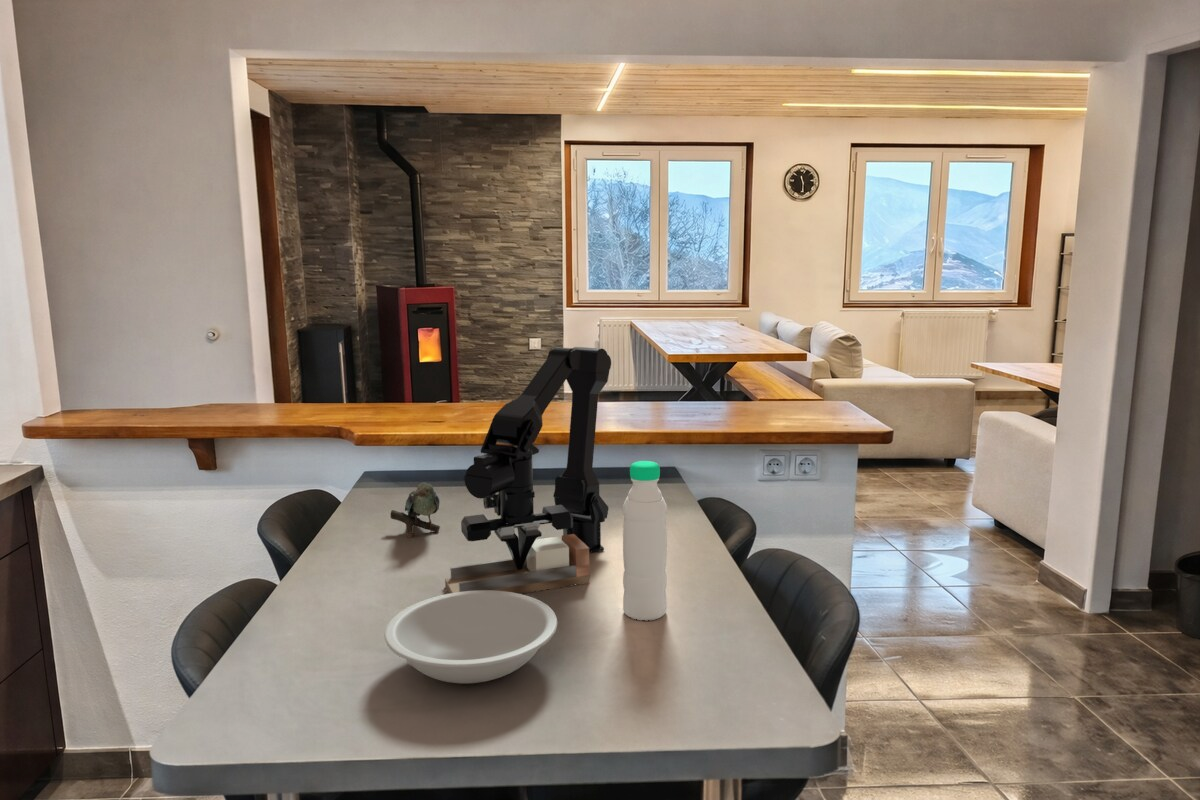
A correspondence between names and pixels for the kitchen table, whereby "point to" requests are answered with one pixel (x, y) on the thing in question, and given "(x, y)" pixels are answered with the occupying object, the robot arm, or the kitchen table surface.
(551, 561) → the block
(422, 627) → the soup bowl
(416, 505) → the bird figurine
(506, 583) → the track
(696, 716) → the kitchen table surface
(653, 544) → the water bottle
